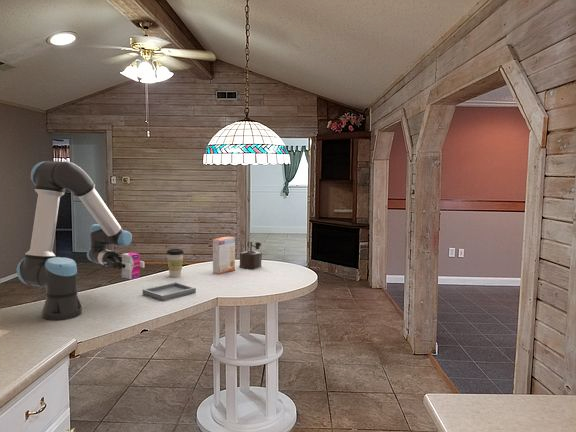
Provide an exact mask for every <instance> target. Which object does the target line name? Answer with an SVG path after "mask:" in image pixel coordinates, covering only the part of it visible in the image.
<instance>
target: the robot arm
mask: <svg viewBox="0 0 576 432" xmlns="http://www.w3.org/2000/svg"><path fill="white" fill-rule="evenodd" d="M30 172H31V173H30V180H31V181H32V184H33V185H34V191H35V193H36V194H37V200H36V207H35V214H34V219H33V228H32V234H31V241H30V247H29V250H28V251H26V252H25V253H24V254H25V255H24V258H22V259H21V260H20V262H18V264H17V267H16V276H17V277H18V279H19V281H20V282H22V283H23V284H25V285H27V286H30V287H39V288H45V291H46V292H45V293H46V298H45V301H44V304H43V307H42V310H41V317H42V318H43V319H44V320H49V321H57V320H58V321H59V320H60V321H61V320H62V321H63V320H68V319H69V320H70V319H72V318H76V317H79V316H80V315H82V314H83V306H82V303H81V301H80V298H79V296H78V268H77V267H78V266H77V262H76V261H75V260H74V259H72V258H69V257H61V256H57V255H56V254H55V253H54V252H53V250H54V244H55V243H54V242H55V236H56V229H57V228H56V227H57V223H58V215H59V207H60V202H61V201H60V200H61V197H62V196H64V195H65V192H66V190H68V191H69V192H71V193H72V194H73V196H74V197H76V198H79V200H80V201H81V203H82V204H83V205H84V207H85V208H86V210H87V211H88V213H90V214H91V216H92V218H93V220H95V222H96V223H95V224H91V225H90V230H89V231H90V233H89V236H90V248H89V249H88V251H87V252H86V257H87V259H88V260H89V261H90V262H92V263H93V264H99V265H103V266H105V267H109V268H113V269H118V270H122V268H123V269H127V270H131V264H129V263H125V262H122V255H120V254H119V252H117V251H114V250H110V249H108V245H109V246H116V247H128V246H130V244H131V242H132V239H133V235H132V233H131V232H130V231H128V230H124V229H123V228H122V226H121V225H120V224H119V221H117V219H116V218H115V216H114V214H113V213H112V212H111V210H110V208H109V207H108V205H107V204H106V203H105V202H104V200H103V198H102V197H101V195H100V194H99V193H98V191H97V190H96V189H95V186H96V184H95V182H94V181H93V180H92V178H91V177H90V176H89V175H88V173H87V172H86V171H85V170H84V169H83V168H82V167H80V166H78V165H77V164H76V163H73V162H72V161H71V162H70V161H59V160H58V161H55V160H46V161H41V162H40V161H39V162H38V163H37V164H36V163H35V165H34V166H33V167H32V169H31V171H30ZM145 265H146V262H145V261H143V260H142V259H141V258H140V268H142V269H145Z"/></svg>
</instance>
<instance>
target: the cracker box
mask: <svg viewBox="0 0 576 432" xmlns="http://www.w3.org/2000/svg"><path fill="white" fill-rule="evenodd" d="M235 270H236V237H235V236H230V235H229V236H223V237H218V238H213V239H212V274H216V275H221V274H225V273H229V272H233V271H235Z"/></svg>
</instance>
